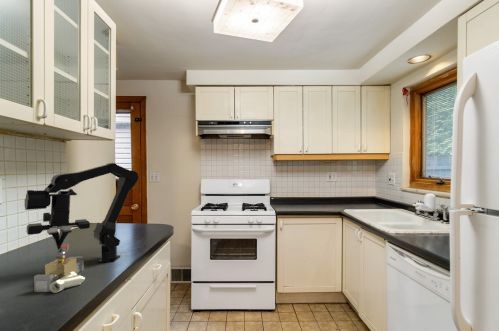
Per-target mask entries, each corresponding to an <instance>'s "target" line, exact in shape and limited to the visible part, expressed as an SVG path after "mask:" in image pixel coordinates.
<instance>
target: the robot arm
mask: <svg viewBox="0 0 499 331" xmlns="http://www.w3.org/2000/svg"><path fill="white" fill-rule="evenodd" d="M109 174H111V175H113V176H114V177H117V178H118V180H117V186H118V187H117V189H116V192H115V195H114V197H113V199H112V202H111V204H110V206H109V208H108V211H107V213H106V215H105V217H104V219H103V221H102V222H101V223H100V222H97V223H96V225H95V229H94V230H93V233H94V234H93V237H94V240H95V241H97V242H98V243H99V245H101V248H100V249H101V251H100V252H101V258H100V259H99V260H97V262H98V263H113V262H115V261H117V260H118V259H119V258H121V255H119V254H118V247H119V246H120V244H121V240H120V239H119V238H118V237H116V236H115V234H116V230H117V229H116V228H117V227H116V226H117V222H118V218H119V216H120V214H121V212H122V209H123V207H124V205H125V202H126V199H127V197H128V195H129V193H130V191H131V190H132V189H133V188H134V187H135V186H136V183H137V182H138V181H139V178H140V175H139V174H138V172H137V171H135V170H129V169H128V168H126V167H123V166H121V165H118V164H117V163H115V162H109V163H106V164H104V165H103V164H102V165H100V166H96V167H91V168H89V169H84V170H80V171H77V172H75V171H74V172H67V173H66V172H65V173H57V174H55V175H53V176H52V178H51V180H50V183H49V184H48V185H47V187H45V188H44V189H42V190H39V189H37V190H33V189H29V190H26V193H25V198H24V210H25V211H28V210H30V211H31V210H42V209H47V207H49V206H50V212H44V213H43V214H42V222H43V223H45V222H48V224H42V223H41V222H39V223H38V222H37V223H29V224H27V225H26V234H27V235H28V236H29V235H30V236H31V235H39V234H41V233H42V232H44V231H46V233H47V234H48V235H51V236H52V238H53V240H54V243H55V246H56V248H57V250H60V249H61V246H62V244H64V241H65V240H66V237H68V235H69V233H70V234H71V233H72V228H79V229H80V230H86V229H89V228H90V226H91V224H90V223H91V222H90V221H89V220H88V219H86V218H83V219H75V221H73V222H70V211H71V210H70V208H71V196H77V195H78V193H77V192H75V190H73V189H72V187H75V186H77V185H78V184H80V183H82V182H85V181H87V180H90V179H95V178H98V177H101V176H104V175H109ZM58 230H59V231H58Z"/></svg>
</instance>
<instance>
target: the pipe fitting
mask: <svg viewBox="0 0 499 331" xmlns="http://www.w3.org/2000/svg"><path fill="white" fill-rule="evenodd" d="M85 280H86V277H85V276H82V274H78V273H77V274H76V273H75V272H73V271H72V272H70V273H68V274H66V275H65V276H64V277H62V278H60V279H59V280H57V281H55V282H53V283H51V284H50V290H51V293H54V294H57V293H59V292H61V291H63V290H65V289H69V288H72V287H77V286H81V285H82V283H83V282H84V281H85Z"/></svg>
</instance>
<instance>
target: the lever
mask: <svg viewBox="0 0 499 331" xmlns="http://www.w3.org/2000/svg"><path fill="white" fill-rule="evenodd" d="M69 249H70V243H62V245H61V247H60V249H59V251H56V252H55V253H54V254H55V256H54V257H55V260H56V259H59V258H67V256H68V254H67V253H68V251H69Z"/></svg>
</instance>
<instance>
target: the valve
mask: <svg viewBox="0 0 499 331" xmlns="http://www.w3.org/2000/svg"><path fill="white" fill-rule="evenodd" d="M44 267H45V268H44V274H36V275H34V276H33V282H34V284H33V285H34V286H33V287H34V290H33V292H34V293H48V292H49V293H52V291H51V290H50V284H51V283H53V282H55V281H57V280H59V279H60V278H62V277H64V276H65V275H66V274H68V273H70V272H72V271H73V272H75V273H76V274H77V275H78V273H79V272H82V271H84V270H85V257H84V256H69V257H64V258H59V259H56V258H55V260H52V261H51V262H48V263H46V264H44Z"/></svg>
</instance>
